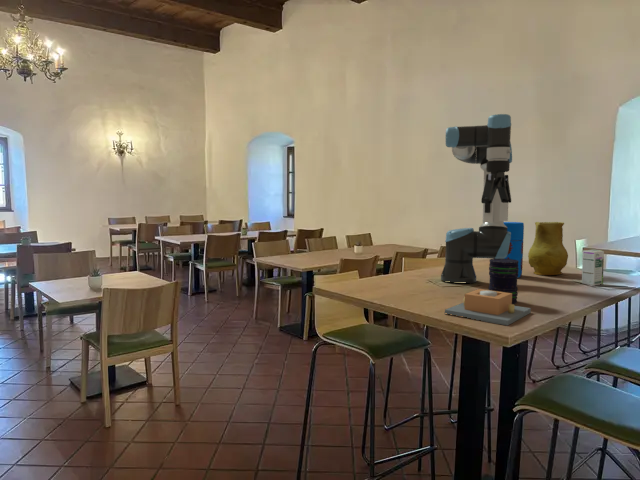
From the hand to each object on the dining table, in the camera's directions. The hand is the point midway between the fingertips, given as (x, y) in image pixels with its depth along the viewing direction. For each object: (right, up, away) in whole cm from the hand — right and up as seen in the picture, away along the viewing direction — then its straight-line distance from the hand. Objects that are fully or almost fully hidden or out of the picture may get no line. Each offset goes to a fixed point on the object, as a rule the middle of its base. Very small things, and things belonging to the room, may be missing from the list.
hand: (496, 221), depth 166 cm
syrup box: (+54, -25, +35) cm, 69 cm away
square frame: (-8, -29, -13) cm, 32 cm away
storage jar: (+4, -29, +4) cm, 29 cm away
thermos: (+27, -23, +56) cm, 67 cm away
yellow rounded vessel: (+47, -23, +61) cm, 80 cm away
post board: (-8, -30, -13) cm, 34 cm away
